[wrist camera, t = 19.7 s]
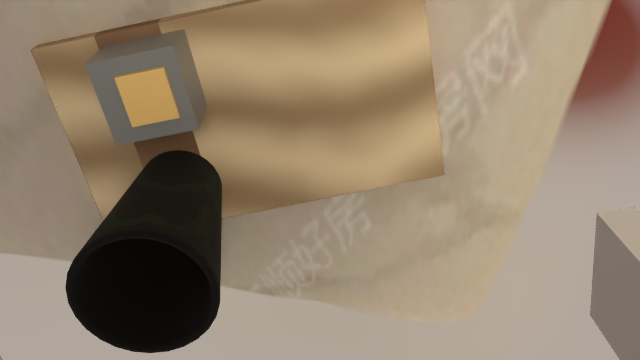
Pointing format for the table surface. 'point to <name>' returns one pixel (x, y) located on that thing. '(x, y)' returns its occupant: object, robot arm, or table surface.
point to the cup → (154, 259)
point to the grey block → (148, 87)
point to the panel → (273, 101)
